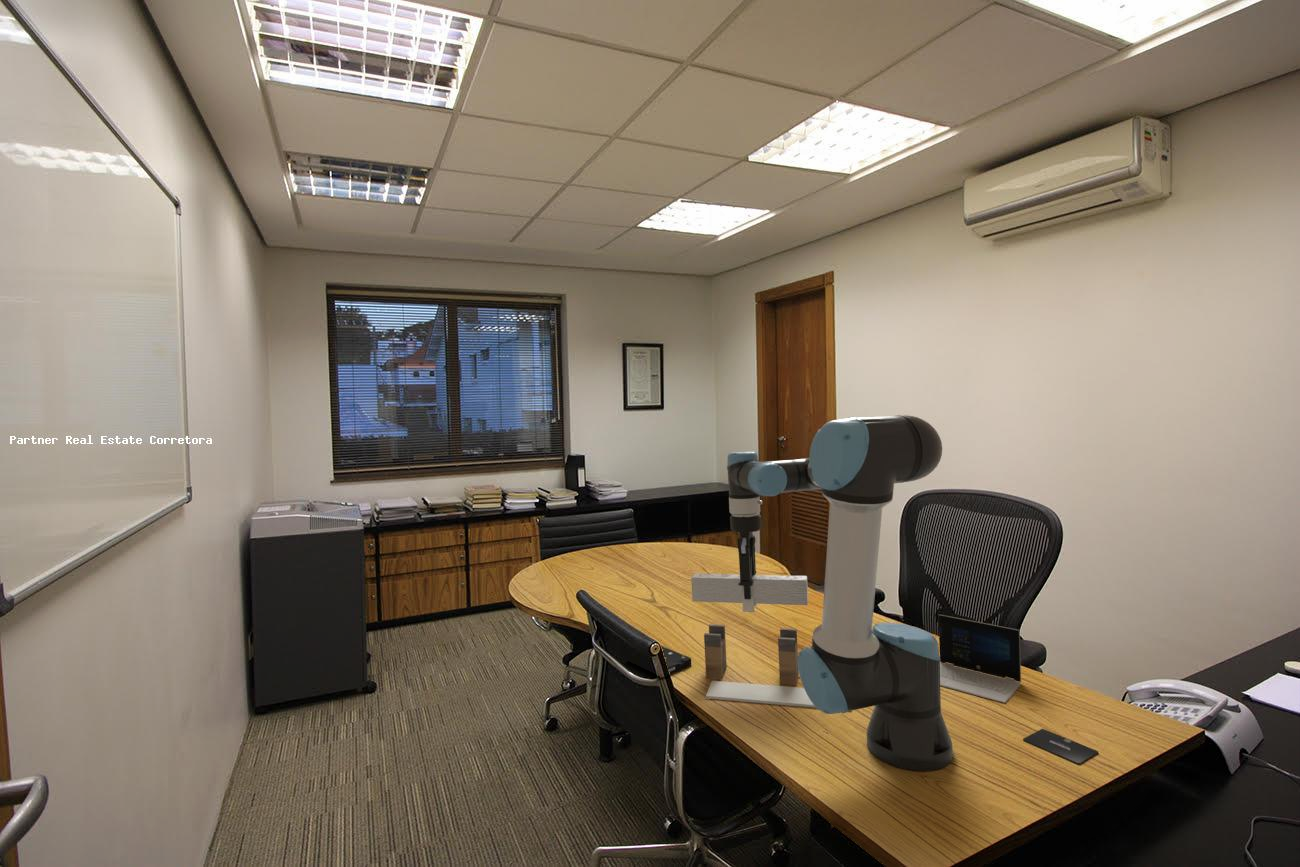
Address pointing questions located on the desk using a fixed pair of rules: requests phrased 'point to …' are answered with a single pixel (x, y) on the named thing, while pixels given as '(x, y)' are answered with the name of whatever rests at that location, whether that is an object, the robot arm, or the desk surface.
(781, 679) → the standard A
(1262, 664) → the desk surface
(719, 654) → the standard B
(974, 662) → the laptop
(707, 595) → the rail
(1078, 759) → the solid state drive
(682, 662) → the disk drive
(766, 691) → the mat
